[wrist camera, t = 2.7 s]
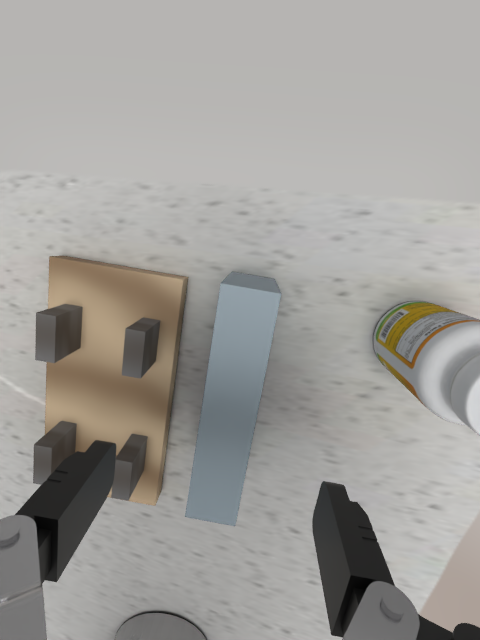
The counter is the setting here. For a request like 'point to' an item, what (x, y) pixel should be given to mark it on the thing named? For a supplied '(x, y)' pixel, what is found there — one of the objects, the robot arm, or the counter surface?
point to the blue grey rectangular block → (232, 395)
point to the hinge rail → (109, 368)
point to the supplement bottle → (434, 358)
